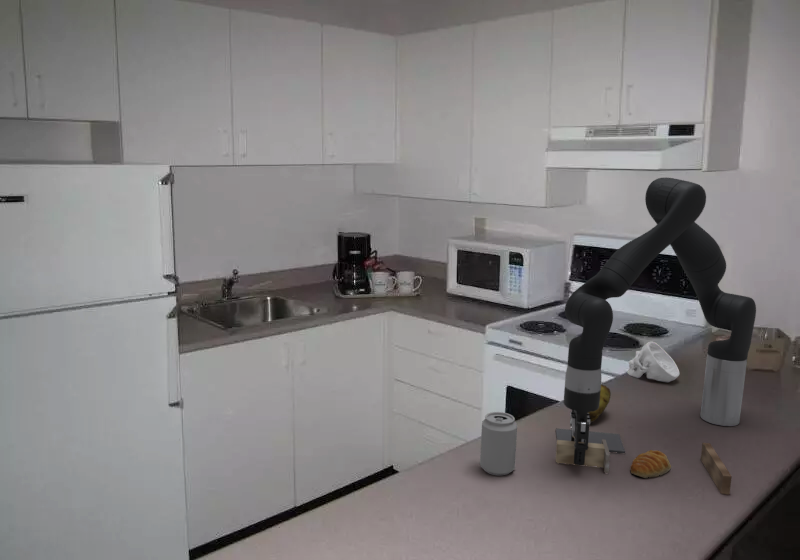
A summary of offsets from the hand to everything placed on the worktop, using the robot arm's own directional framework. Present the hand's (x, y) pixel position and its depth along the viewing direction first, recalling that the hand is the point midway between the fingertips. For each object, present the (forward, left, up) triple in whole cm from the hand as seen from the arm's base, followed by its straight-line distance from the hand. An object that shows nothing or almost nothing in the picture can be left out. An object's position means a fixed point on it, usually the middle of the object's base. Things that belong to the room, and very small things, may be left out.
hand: (577, 455), depth 148 cm
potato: (-28, +6, -2) cm, 29 cm away
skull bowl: (-65, +28, -2) cm, 71 cm away
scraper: (0, +1, -2) cm, 2 cm away
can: (+7, -17, -2) cm, 19 cm away
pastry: (0, +15, -2) cm, 16 cm away
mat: (-12, +4, -2) cm, 13 cm away
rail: (0, +29, -2) cm, 29 cm away
